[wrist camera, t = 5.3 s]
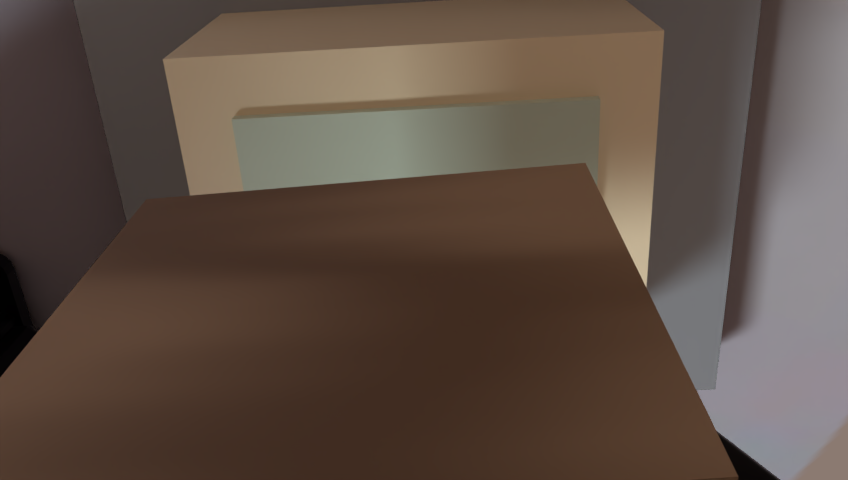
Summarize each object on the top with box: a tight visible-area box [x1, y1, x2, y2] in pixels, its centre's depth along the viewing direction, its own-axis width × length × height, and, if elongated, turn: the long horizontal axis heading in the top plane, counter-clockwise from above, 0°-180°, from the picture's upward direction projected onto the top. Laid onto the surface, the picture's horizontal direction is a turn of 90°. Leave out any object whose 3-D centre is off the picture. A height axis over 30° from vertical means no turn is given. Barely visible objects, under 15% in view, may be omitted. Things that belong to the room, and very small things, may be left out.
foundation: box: [73, 0, 762, 390], centre depth 17 cm, size 14×12×6 cm
